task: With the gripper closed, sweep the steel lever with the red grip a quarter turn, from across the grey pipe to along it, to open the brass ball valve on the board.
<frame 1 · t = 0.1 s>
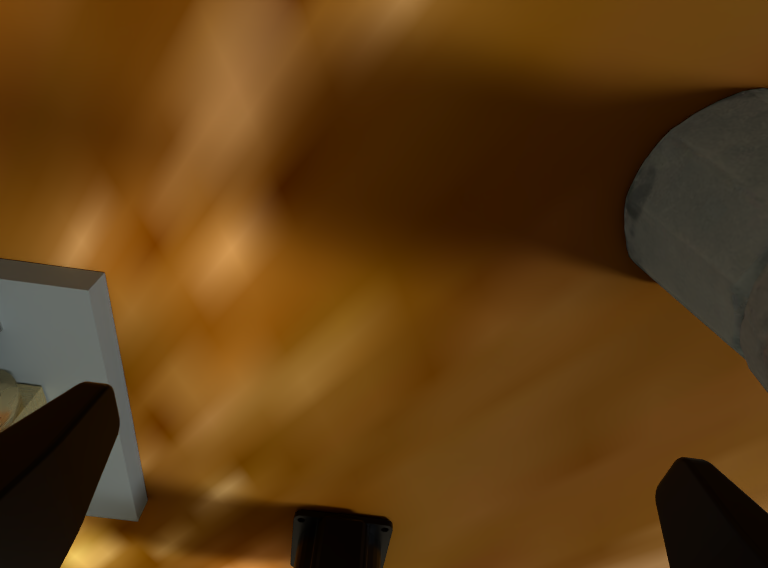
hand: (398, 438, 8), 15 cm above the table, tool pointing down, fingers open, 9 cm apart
moka pot: (739, 196, 21), on the table
valve board: (21, 392, 29), on the table
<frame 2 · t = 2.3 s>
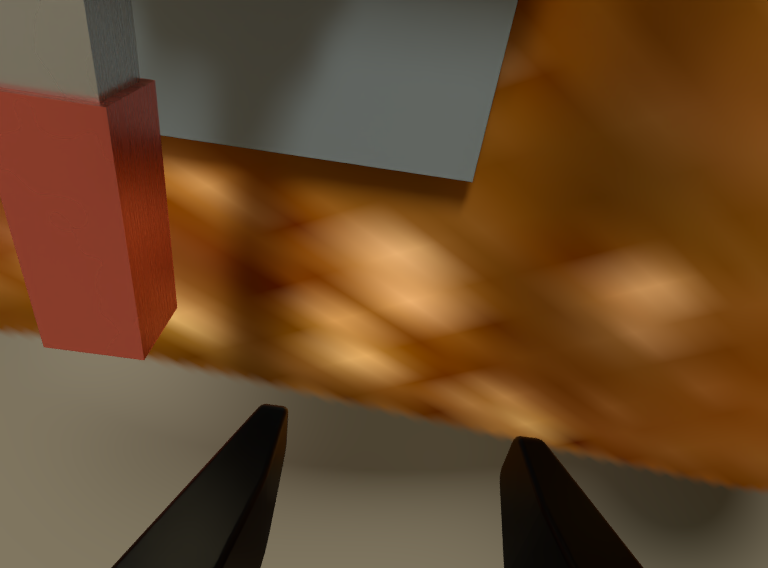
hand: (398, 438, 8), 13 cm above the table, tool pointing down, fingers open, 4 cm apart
valve lever: (59, 21, 9), point 9 cm above the table, hinge at 90.0°
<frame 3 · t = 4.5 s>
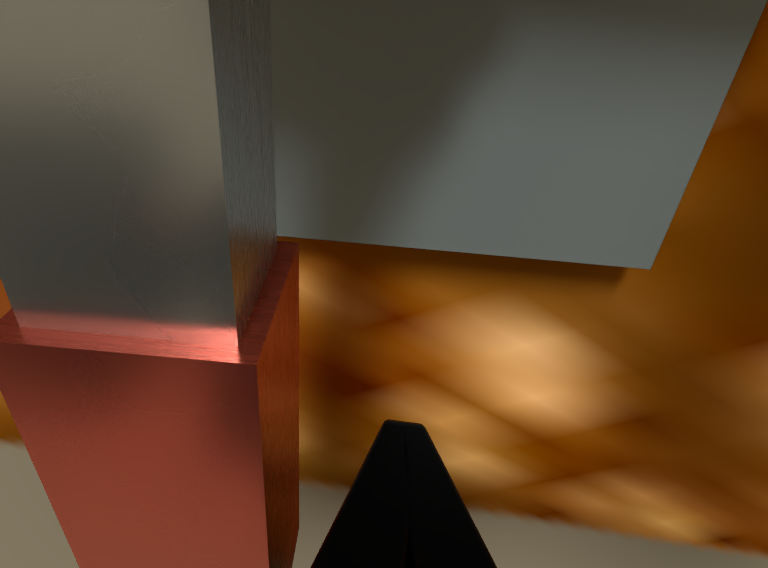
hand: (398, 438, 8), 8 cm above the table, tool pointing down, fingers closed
valve lever: (149, 185, 4), point 9 cm above the table, hinge at 89.7°, touching gripper
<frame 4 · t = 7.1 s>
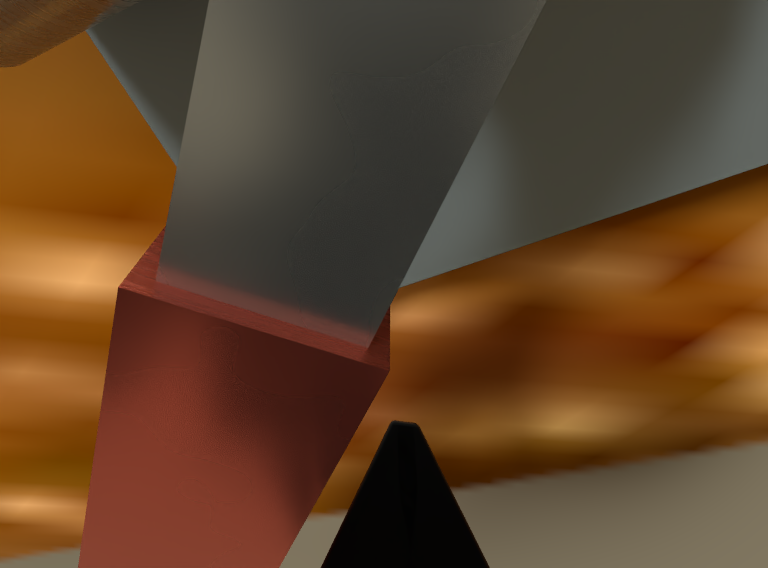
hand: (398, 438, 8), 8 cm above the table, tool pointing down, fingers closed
valve lever: (315, 172, 4), point 9 cm above the table, hinge at 45.1°, touching gripper
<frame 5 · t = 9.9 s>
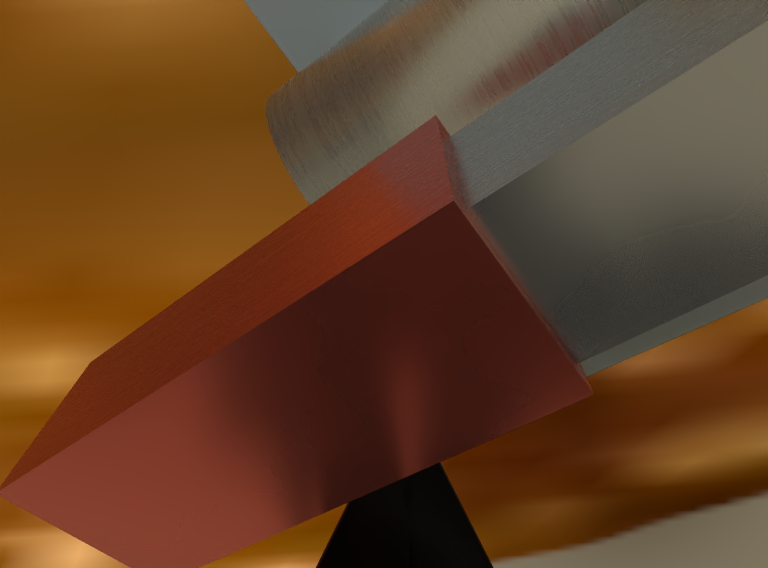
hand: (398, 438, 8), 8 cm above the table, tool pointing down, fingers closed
valve lever: (613, 183, 4), point 9 cm above the table, hinge at 1.2°, touching gripper
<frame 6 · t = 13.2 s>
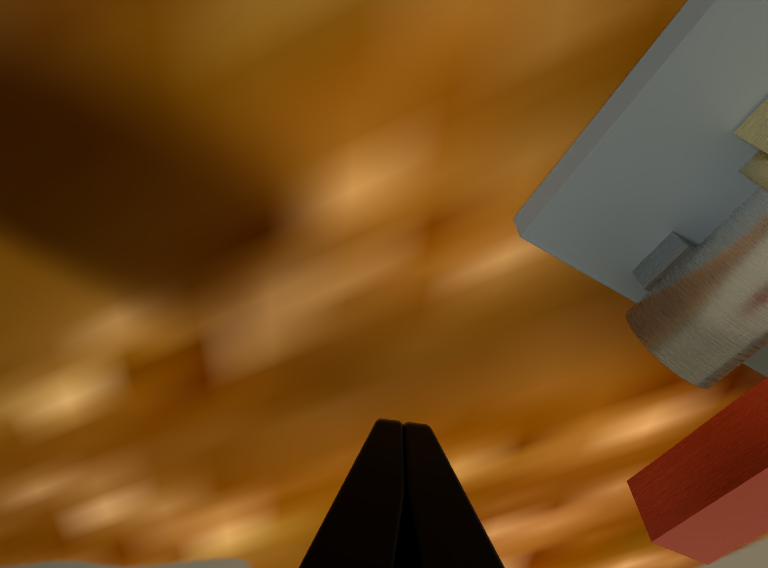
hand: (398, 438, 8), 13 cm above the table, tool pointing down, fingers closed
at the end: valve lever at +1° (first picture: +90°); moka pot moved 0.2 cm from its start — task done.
